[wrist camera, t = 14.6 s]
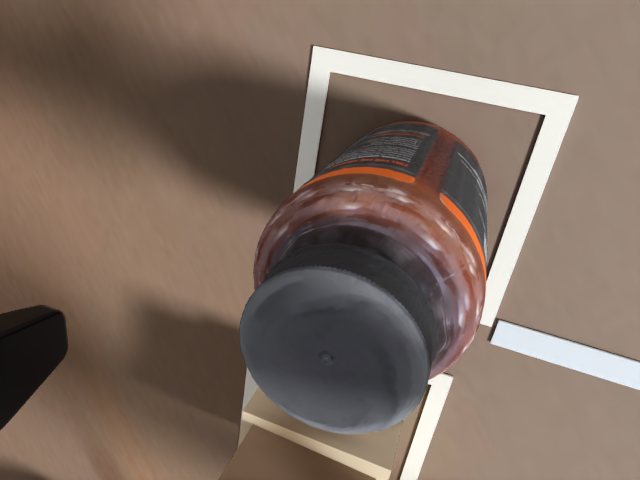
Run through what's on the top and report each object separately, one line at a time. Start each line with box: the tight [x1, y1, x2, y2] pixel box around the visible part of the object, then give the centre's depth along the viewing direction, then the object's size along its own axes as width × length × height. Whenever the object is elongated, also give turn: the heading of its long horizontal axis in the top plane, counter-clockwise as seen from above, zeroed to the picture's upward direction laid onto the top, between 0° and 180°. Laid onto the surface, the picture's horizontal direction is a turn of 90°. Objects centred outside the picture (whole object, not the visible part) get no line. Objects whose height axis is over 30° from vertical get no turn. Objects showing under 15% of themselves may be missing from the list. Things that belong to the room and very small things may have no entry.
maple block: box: [238, 387, 403, 480], centre depth 23 cm, size 6×6×5 cm
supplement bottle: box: [240, 121, 487, 435], centre depth 14 cm, size 6×6×11 cm
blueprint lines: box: [240, 46, 640, 480], centre depth 21 cm, size 17×23×1 cm
